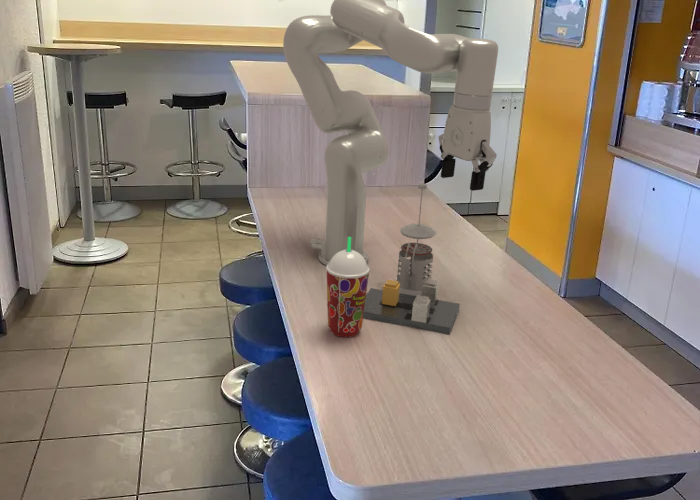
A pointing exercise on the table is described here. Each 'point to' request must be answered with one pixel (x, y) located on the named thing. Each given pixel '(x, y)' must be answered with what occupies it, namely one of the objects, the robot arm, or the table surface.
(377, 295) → the panel
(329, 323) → the smoothie
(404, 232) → the french press
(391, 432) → the table surface
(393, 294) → the orange rectangular block
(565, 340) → the table surface
